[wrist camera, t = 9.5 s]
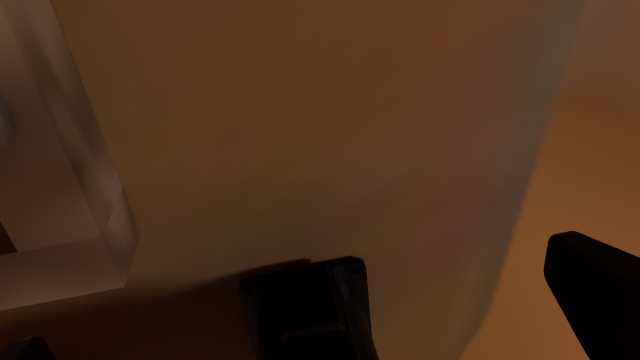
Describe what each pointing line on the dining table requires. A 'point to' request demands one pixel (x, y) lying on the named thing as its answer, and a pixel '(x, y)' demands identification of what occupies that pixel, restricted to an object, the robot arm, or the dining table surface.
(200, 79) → the dining table surface
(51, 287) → the grey flat frame
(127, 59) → the dining table surface
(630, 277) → the robot arm
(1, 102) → the hook rod
